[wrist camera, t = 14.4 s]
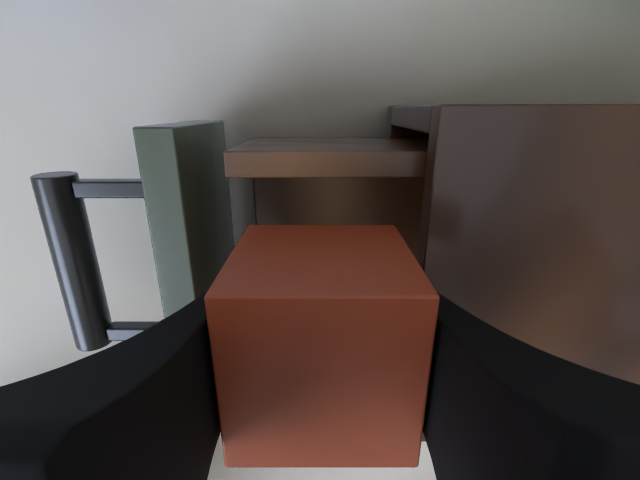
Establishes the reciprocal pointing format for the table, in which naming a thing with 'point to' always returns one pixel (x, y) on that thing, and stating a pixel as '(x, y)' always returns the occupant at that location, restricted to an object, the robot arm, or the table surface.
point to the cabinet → (536, 222)
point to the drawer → (221, 207)
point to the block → (321, 347)
